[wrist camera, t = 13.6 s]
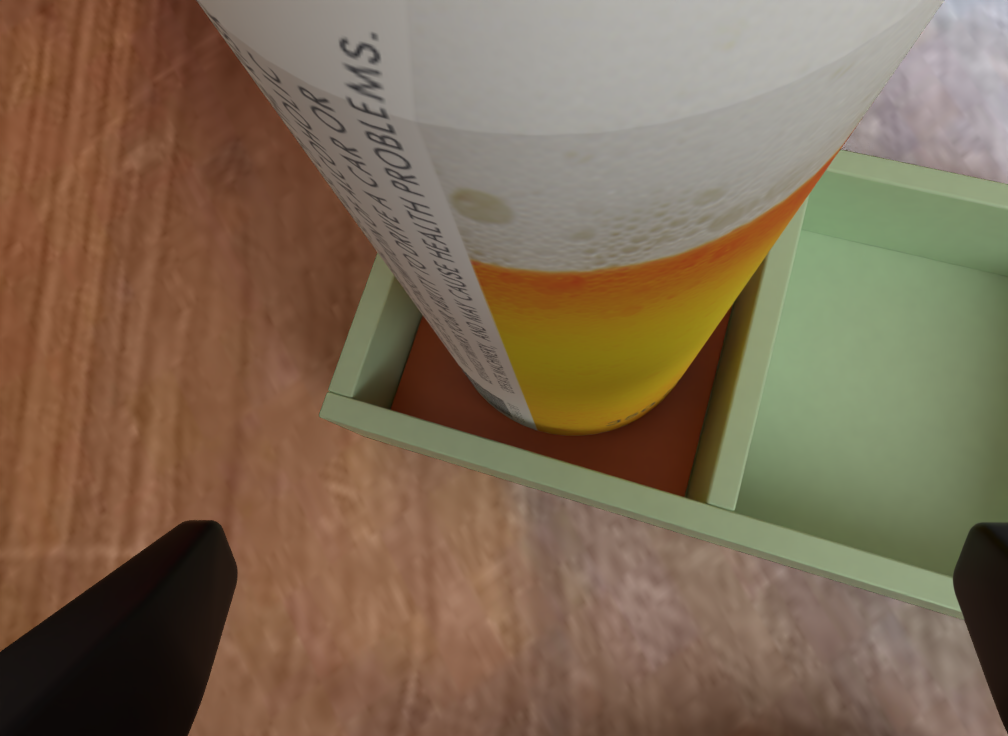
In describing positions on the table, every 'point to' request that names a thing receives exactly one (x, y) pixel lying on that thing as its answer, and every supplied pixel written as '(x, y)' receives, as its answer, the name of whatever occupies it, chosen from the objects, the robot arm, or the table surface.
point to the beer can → (572, 165)
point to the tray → (773, 393)
